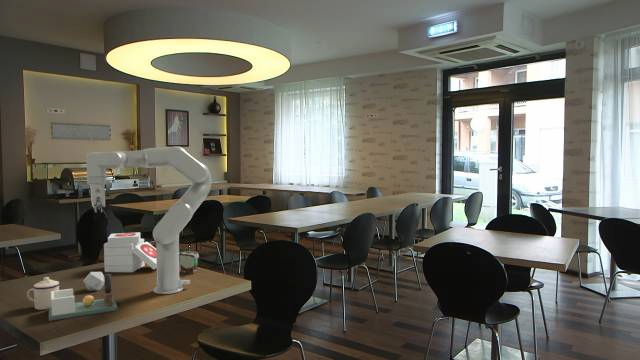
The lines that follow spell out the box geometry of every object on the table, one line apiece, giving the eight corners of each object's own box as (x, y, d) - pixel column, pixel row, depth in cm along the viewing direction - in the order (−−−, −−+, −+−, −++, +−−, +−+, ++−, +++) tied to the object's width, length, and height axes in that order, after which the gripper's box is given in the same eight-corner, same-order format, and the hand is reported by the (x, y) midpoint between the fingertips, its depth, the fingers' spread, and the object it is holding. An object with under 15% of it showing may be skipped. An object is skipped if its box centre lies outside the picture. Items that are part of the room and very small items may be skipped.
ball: (93, 303, 185) (93, 293, 184) (94, 306, 181) (94, 296, 181) (82, 305, 183) (82, 295, 182) (83, 307, 179) (82, 297, 179)
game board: (113, 300, 192) (112, 283, 192) (117, 310, 181) (116, 291, 180) (48, 310, 181) (48, 291, 181) (48, 320, 169) (48, 300, 169)
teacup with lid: (64, 302, 191) (63, 274, 190) (53, 309, 182) (52, 280, 181) (34, 303, 190) (33, 275, 190) (21, 310, 181) (20, 281, 180)
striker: (110, 298, 190) (109, 271, 190) (113, 304, 182) (112, 276, 181) (103, 299, 189) (102, 272, 189) (106, 305, 180) (105, 277, 180)
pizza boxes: (155, 273, 239) (155, 238, 238) (98, 272, 240) (97, 238, 239) (169, 264, 258) (168, 232, 257) (116, 264, 259) (115, 232, 259)
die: (91, 294, 204) (105, 275, 206) (75, 284, 205) (90, 265, 208) (99, 296, 211) (113, 277, 214) (84, 286, 213) (98, 268, 215)
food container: (204, 271, 241) (204, 252, 241) (195, 274, 236) (195, 254, 236) (187, 268, 248) (187, 250, 247) (178, 271, 243) (178, 252, 242)
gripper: (108, 181, 194) (109, 222, 195) (105, 179, 209) (106, 217, 210) (87, 182, 190) (89, 223, 191) (86, 180, 205) (87, 219, 206)
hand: (98, 220), depth 200 cm, fingers open, 9 cm apart
